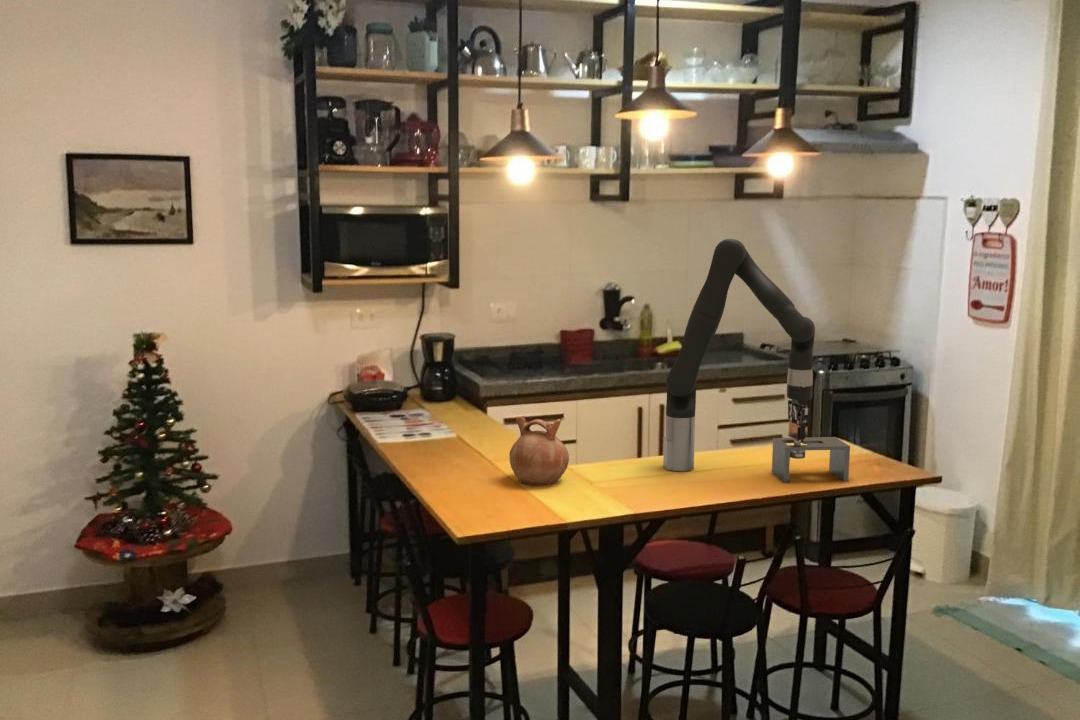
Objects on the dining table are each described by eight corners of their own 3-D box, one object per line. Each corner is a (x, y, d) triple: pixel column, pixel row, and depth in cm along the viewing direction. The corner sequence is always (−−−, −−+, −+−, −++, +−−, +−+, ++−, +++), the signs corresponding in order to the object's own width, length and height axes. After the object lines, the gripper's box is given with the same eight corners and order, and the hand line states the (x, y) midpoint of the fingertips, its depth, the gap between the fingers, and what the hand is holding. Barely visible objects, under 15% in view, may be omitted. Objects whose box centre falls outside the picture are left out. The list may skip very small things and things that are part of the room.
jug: (579, 477, 298) (580, 414, 295) (550, 492, 282) (550, 426, 279) (528, 469, 307) (528, 408, 304) (497, 483, 292) (497, 419, 288)
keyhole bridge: (783, 482, 292) (785, 447, 290) (771, 472, 303) (773, 438, 302) (848, 481, 293) (850, 446, 291) (833, 470, 305) (835, 436, 303)
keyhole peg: (790, 459, 294) (792, 425, 292) (785, 454, 299) (786, 421, 298) (808, 458, 294) (810, 425, 293) (802, 454, 300) (803, 421, 298)
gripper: (780, 379, 300) (778, 431, 303) (795, 387, 286) (793, 443, 289) (803, 378, 301) (801, 431, 303) (820, 387, 286) (817, 442, 289)
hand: (797, 436), depth 296 cm, fingers closed on keyhole peg, 5 cm apart
